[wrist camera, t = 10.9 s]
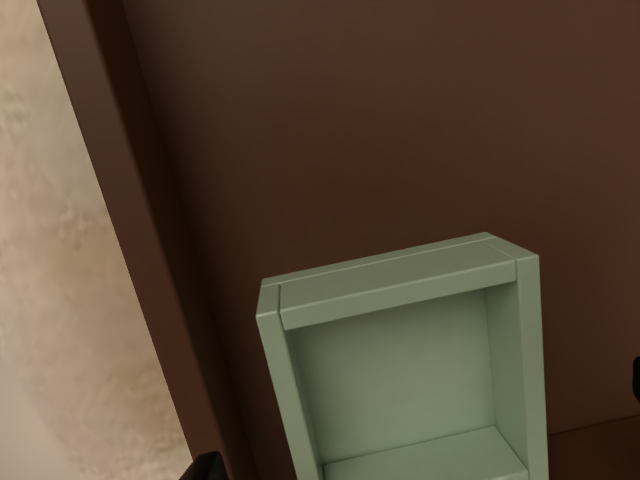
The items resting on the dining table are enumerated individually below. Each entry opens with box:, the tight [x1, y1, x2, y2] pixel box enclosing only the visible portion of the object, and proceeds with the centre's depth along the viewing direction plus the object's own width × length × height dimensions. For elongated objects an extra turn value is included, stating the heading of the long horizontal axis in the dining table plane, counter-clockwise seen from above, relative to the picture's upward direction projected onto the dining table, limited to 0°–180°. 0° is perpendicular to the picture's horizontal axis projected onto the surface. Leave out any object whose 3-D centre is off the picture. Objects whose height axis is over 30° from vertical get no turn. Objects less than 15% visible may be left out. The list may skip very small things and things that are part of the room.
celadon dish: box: [255, 232, 549, 480], centre depth 10 cm, size 6×6×2 cm
